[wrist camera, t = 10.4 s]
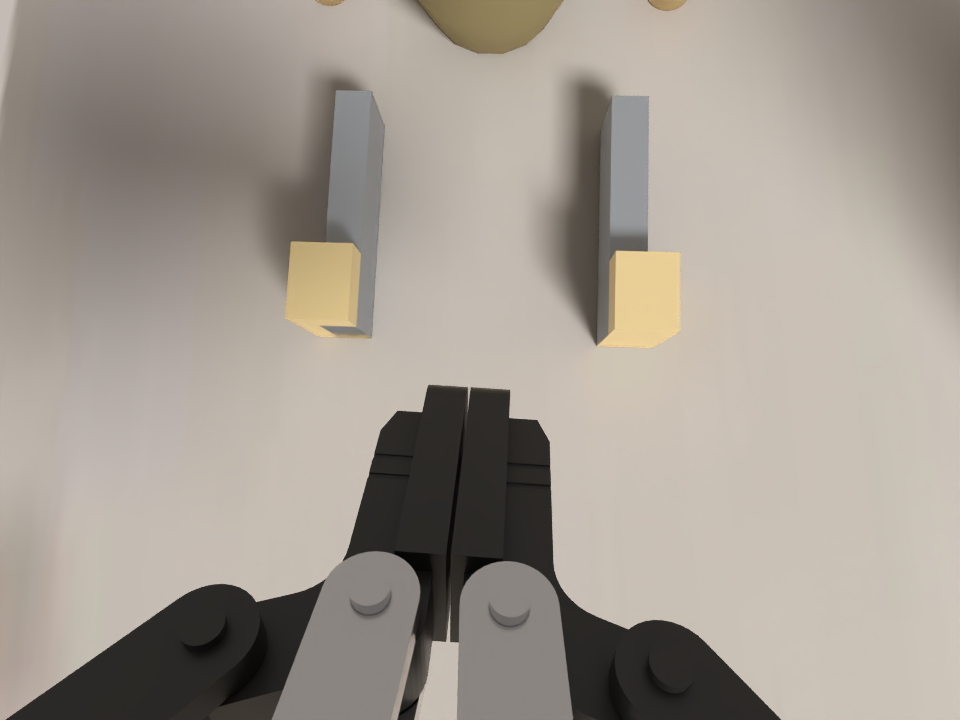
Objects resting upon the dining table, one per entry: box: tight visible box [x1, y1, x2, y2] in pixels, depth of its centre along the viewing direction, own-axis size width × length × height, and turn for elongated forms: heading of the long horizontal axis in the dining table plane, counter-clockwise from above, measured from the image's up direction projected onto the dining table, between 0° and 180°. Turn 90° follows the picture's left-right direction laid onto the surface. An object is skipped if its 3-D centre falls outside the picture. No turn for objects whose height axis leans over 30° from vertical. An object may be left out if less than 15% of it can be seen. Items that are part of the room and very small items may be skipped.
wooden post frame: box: [285, 0, 686, 348], centre depth 26 cm, size 18×18×6 cm
